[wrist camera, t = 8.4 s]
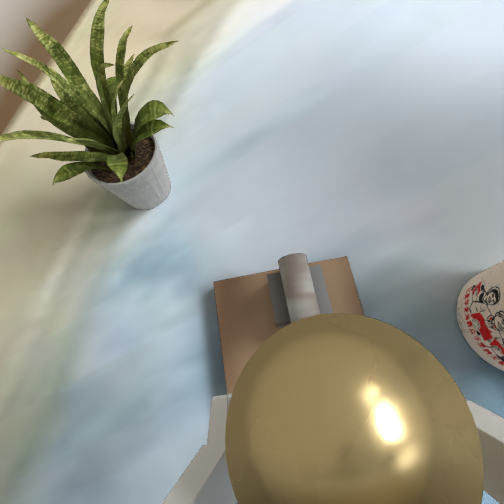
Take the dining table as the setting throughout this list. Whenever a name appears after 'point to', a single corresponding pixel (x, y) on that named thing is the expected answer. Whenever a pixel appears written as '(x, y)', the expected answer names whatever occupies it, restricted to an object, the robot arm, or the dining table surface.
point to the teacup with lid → (484, 314)
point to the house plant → (99, 119)
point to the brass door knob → (350, 420)
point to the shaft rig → (278, 304)
